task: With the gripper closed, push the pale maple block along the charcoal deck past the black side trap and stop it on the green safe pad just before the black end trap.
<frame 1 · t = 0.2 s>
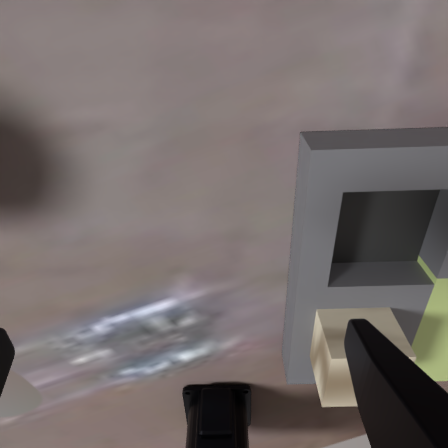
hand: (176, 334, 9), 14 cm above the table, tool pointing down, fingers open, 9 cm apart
maple block: (347, 333, 26), point 3 cm above the table, touching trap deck
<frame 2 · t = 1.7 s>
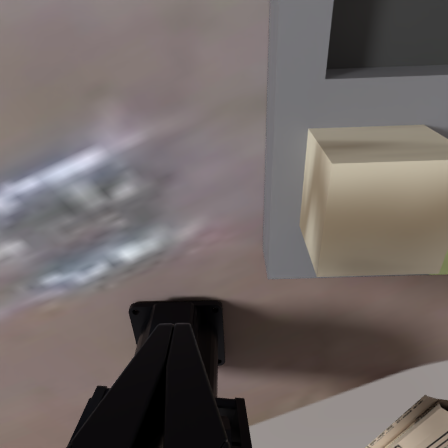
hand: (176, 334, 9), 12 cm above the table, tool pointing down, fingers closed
maple block: (356, 179, 17), point 3 cm above the table, touching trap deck
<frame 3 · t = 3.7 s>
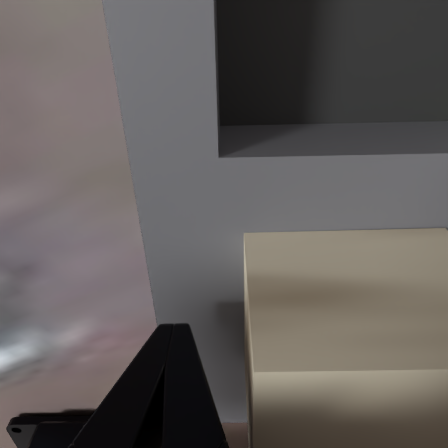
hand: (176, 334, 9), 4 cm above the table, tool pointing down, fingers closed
maple block: (331, 303, 10), point 3 cm above the table, touching gripper
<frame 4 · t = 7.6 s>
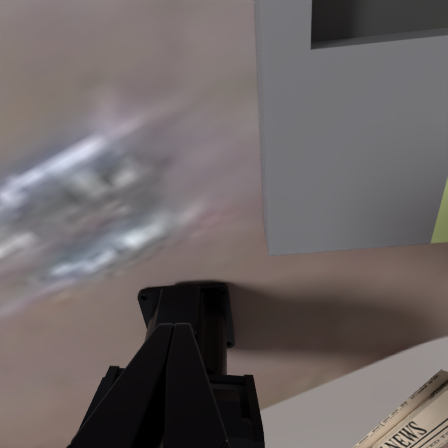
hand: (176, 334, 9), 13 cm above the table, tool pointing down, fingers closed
newspaper: (393, 437, 38), on the table
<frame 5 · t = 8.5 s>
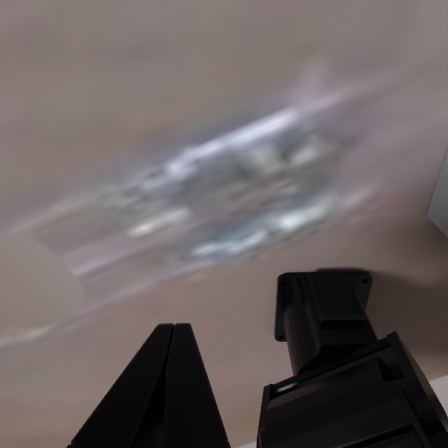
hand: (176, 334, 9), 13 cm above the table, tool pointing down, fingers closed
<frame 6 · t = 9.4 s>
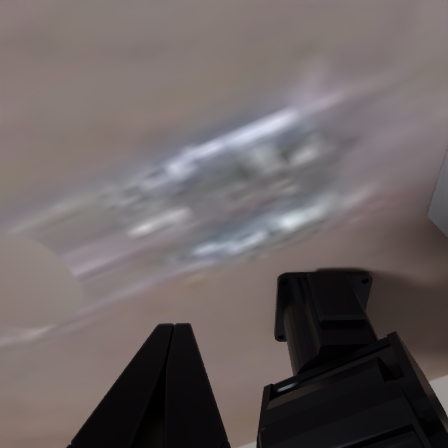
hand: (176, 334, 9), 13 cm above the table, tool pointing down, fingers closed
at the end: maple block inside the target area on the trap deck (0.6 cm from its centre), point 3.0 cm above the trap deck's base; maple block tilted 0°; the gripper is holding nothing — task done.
